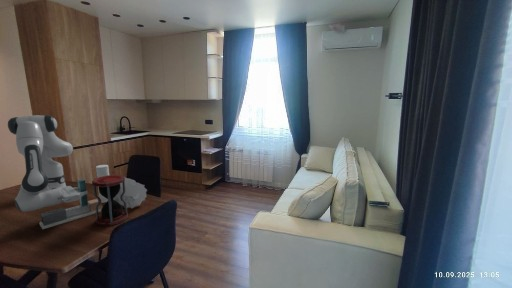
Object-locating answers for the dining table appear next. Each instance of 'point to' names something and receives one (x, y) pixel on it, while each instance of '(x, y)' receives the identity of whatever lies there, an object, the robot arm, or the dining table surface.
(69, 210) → the teal oblong box
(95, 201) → the salmon pink block
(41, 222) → the base board
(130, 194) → the spiral staircase
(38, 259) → the dining table surface
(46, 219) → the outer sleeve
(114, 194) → the hourglass
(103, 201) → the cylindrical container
